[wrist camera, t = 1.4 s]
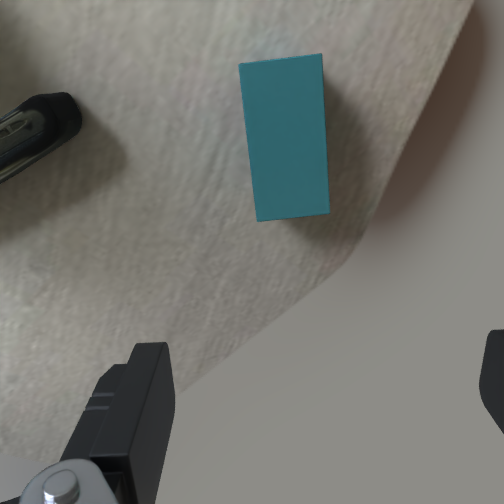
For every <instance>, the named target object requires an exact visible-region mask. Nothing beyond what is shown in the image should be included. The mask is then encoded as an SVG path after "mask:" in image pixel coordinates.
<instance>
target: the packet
mask: <svg viewBox="0 0 504 504" xmlns="http://www.w3.org/2000/svg"><path fill="white" fill-rule="evenodd" d="M238 66H239V75H240V83H241V91H242V100H243V108H244V117H245V125H246V134H247V142H248V151H249V159H250V168H251V176H252V184H253V193H254V201H255V210H256V218H257V222H261V221H270V220H279V219H288V218H297V217H306V216H314V215H323V214H330V198H329V179H328V160H327V141H326V122H325V103H324V84H323V64H322V54H321V53H320V54H312V55H304V56H296V57H288V58H281V59H273V60H265V61H257V62H249V63H241V64H239V65H238Z"/></svg>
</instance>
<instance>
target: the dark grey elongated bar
mask: <svg viewBox="0 0 504 504" xmlns="http://www.w3.org/2000/svg"><path fill="white" fill-rule="evenodd" d="M81 126H82V116H81V113H80V110H79V108H78V106H77V104H76V103H75V101H74V99H73V98H72V97H71V95H70V94H68V93H65V92H59V93H51V94H39V95H36V96H33V97H30V98H29V99H27V100H26V101H24V102H23V103H22V104H20V105H19V106H18V107H16V108H15V109H14V110H12V111H11V112H9V113H8V114H6V115H5V116H3V117H2V118H0V184H1V183H3V182H5V181H6V180H8V179H10V178H11V177H13V176H14V175H16V174H18V173H19V172H21V171H22V170H24V169H25V168H27V167H28V166H30V165H31V164H33V163H34V162H36V161H37V160H39V159H41V158H42V157H44V156H45V155H47V154H48V153H50V152H52V151H53V150H55V149H56V148H58V147H60V146H61V145H63V144H64V143H66V142H67V141H69V140H70V139H72V138H73V137H74V136H76V135H77V134H78V133H79V131H80V129H81Z"/></svg>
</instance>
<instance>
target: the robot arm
mask: <svg viewBox="0 0 504 504" xmlns="http://www.w3.org/2000/svg"><path fill="white" fill-rule="evenodd" d="M479 389H480V395H481V399H482V401H483V403H484V406H485V407H486V409H487V410H488V412H489V413H490V415H491V416H492V418H493V419H494V421H495V422H496V424H497V425H498V427H499V428H500V429H501V431H502V432H503V434H504V329H503V330H492V331H490V333H489V334H488V337H487V341H486V347H485V353H484V358H483V363H482V369H481V375H480V380H479ZM85 408H86V409H85V411H83V413H82V415H81V418H80V420H79V422H78V424H77V426H76V428H75V430H74V432H73V434H72V436H71V438H70V440H69V442H68V444H67V446H66V448H65V450H64V452H63V454H62V457H61V459H60V461H59V462H57V463H55V464H53V465H51V466H49V467H47V468H45V469H44V470H43V471H41V472H40V473H38V474H37V475H36V476H35V477H34V478H33V479H32V480H31V481H30V482H29V483H28V485H27V486H26V487H25V489H24V490H23V492H22V494H21V496H19V497H16V498H14V499H11V500H8V501H5V502H1V503H0V504H155V500H156V495H157V491H158V487H159V482H160V477H161V473H162V468H163V464H164V460H165V455H166V451H167V446H168V441H169V437H170V433H171V428H172V423H173V418H174V413H175V390H174V383H173V376H172V368H171V361H170V354H169V348H168V344H167V343H166V342H155V343H137V344H136V345H135V346H134V348H133V351H132V353H131V356H130V358H129V360H128V363H127V364H114V365H113V366H112V367H111V368H110V369H109V370H108V371H107V372H106V373H105V374H104V375H103V376H102V377H100V379H99V381H98V383H97V385H96V387H95V389H94V391H93V393H92V397H90V399H89V401H88V403H87V405H86V407H85Z"/></svg>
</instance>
